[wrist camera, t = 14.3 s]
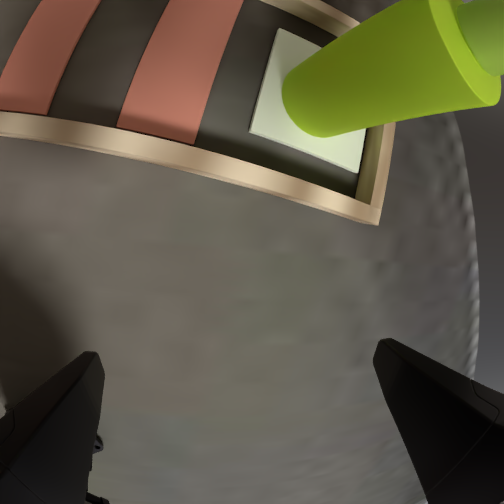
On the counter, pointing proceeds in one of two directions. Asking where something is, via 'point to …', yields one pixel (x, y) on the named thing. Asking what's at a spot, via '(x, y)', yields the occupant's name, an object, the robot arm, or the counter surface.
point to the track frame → (223, 167)
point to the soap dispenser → (401, 67)
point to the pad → (278, 121)
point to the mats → (147, 74)
